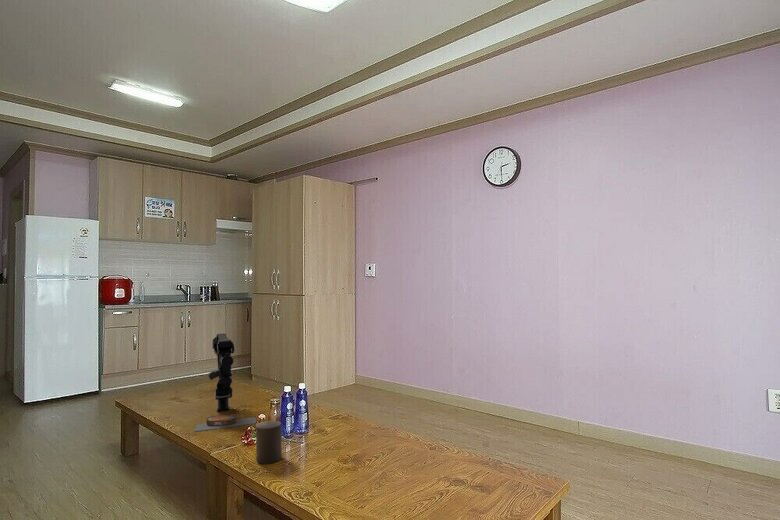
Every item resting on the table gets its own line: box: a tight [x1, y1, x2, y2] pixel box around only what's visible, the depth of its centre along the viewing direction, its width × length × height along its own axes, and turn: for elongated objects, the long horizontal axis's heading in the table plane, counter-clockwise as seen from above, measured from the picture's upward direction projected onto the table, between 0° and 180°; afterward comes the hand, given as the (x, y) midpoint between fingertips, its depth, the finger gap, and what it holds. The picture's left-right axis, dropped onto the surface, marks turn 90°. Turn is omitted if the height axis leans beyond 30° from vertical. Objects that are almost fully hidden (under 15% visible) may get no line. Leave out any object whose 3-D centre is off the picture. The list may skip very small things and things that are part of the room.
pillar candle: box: [255, 420, 283, 465], centre depth 178 cm, size 10×10×15 cm
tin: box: [206, 414, 238, 425], centre depth 225 cm, size 15×3×8 cm
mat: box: [194, 416, 257, 432], centre depth 223 cm, size 10×28×1 cm, turn 109°
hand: (226, 393), depth 236 cm, fingers closed
